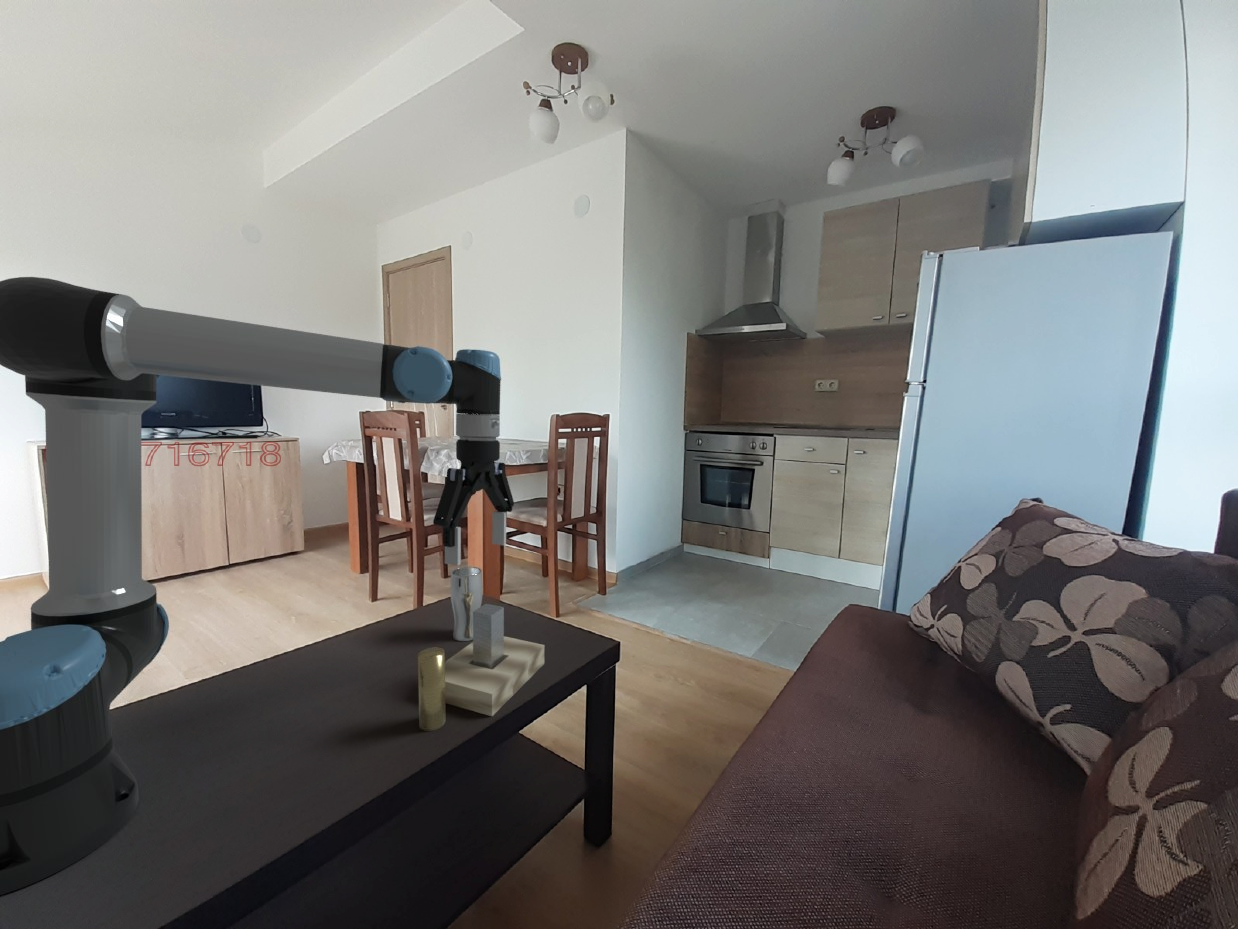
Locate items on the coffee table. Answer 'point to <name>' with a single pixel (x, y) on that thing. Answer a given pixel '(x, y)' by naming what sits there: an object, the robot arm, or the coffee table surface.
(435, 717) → the round bit
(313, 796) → the coffee table surface
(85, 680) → the robot arm
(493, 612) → the square bit
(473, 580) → the beer glass
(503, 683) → the socket block
